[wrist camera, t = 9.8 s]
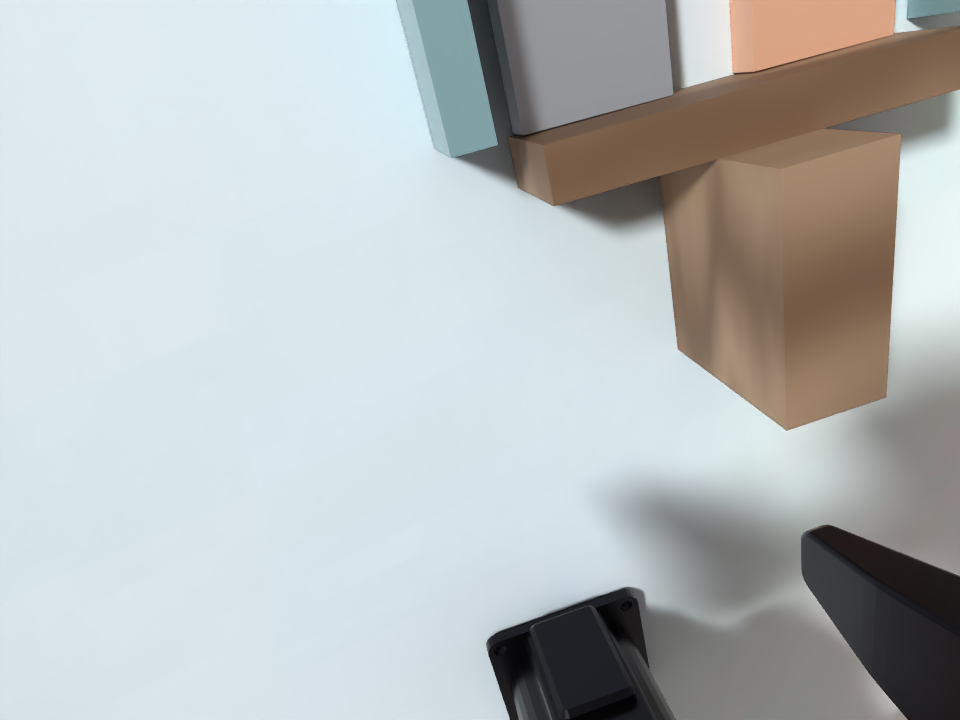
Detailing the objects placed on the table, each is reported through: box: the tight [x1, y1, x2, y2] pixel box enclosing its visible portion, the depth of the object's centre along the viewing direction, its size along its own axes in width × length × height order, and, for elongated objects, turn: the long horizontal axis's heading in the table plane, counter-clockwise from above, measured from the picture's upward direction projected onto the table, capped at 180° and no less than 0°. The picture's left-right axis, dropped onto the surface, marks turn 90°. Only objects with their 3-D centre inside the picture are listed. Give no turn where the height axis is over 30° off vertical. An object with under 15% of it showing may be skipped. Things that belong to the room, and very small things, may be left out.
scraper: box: [508, 26, 960, 430], centre depth 18 cm, size 8×12×6 cm
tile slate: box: [487, 0, 674, 136], centre depth 17 cm, size 4×4×2 cm
